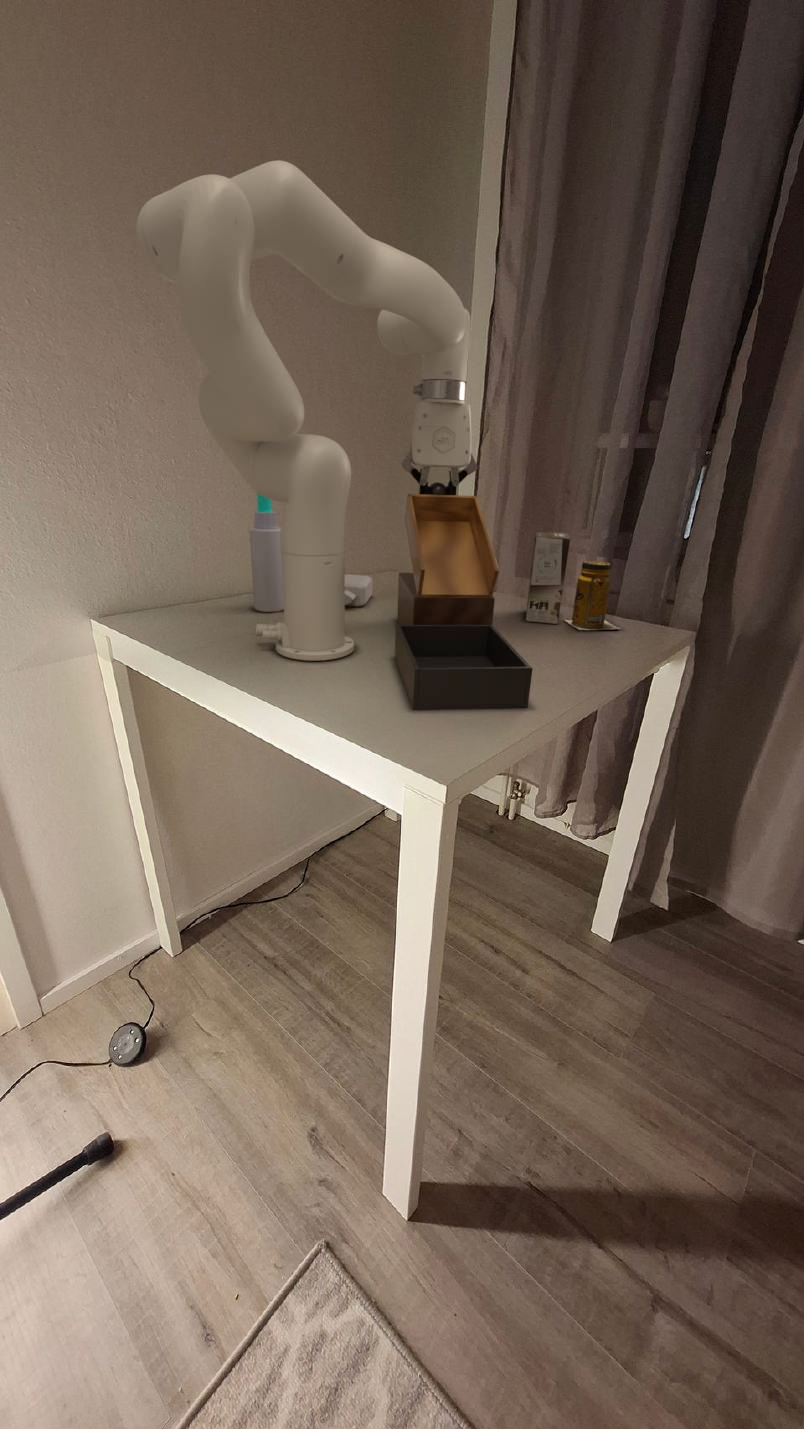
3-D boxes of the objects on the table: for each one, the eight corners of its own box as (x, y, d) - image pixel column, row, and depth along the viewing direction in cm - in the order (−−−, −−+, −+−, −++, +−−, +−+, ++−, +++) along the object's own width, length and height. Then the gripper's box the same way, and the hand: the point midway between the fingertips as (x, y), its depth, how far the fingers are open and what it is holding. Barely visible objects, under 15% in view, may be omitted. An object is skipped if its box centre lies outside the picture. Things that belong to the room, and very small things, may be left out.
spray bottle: (291, 609, 122) (287, 492, 114) (268, 614, 118) (261, 493, 109) (271, 603, 126) (265, 489, 117) (247, 608, 121) (240, 490, 112)
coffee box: (558, 624, 119) (571, 538, 112) (525, 621, 120) (535, 536, 113) (557, 613, 127) (568, 532, 120) (525, 610, 128) (535, 530, 121)
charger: (313, 611, 121) (330, 595, 135) (359, 614, 120) (372, 597, 134) (313, 587, 119) (330, 573, 133) (360, 590, 118) (372, 575, 132)
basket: (412, 709, 78) (414, 669, 76) (394, 658, 97) (395, 624, 94) (527, 707, 80) (532, 668, 78) (488, 657, 99) (492, 624, 96)
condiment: (563, 620, 122) (572, 559, 117) (603, 620, 123) (614, 559, 118) (579, 631, 115) (589, 566, 110) (621, 630, 116) (632, 566, 111)
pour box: (465, 502, 114) (471, 475, 109) (492, 597, 98) (499, 570, 93) (401, 500, 112) (404, 473, 108) (417, 597, 96) (421, 569, 92)
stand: (411, 652, 100) (414, 597, 96) (397, 619, 118) (398, 572, 114) (489, 652, 101) (494, 598, 98) (463, 619, 119) (467, 573, 116)
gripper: (396, 390, 98) (393, 510, 106) (497, 395, 101) (487, 512, 108) (391, 393, 105) (388, 506, 113) (485, 398, 107) (476, 508, 115)
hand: (436, 508), depth 110 cm, fingers closed on pour box, 3 cm apart
